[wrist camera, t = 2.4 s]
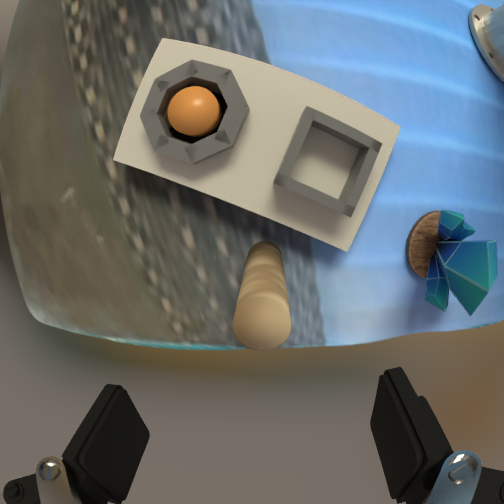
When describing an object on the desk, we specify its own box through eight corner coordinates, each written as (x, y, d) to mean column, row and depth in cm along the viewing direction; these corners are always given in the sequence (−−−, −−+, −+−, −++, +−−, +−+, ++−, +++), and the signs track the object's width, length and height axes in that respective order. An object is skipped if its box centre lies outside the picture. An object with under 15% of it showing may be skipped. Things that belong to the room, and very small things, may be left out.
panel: (389, 129, 22) (414, 123, 18) (340, 244, 26) (355, 261, 21) (171, 47, 21) (152, 27, 16) (125, 159, 25) (98, 160, 20)
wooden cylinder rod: (287, 249, 26) (300, 313, 15) (273, 278, 27) (276, 357, 16) (255, 235, 26) (244, 293, 15) (242, 266, 27) (224, 339, 16)
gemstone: (397, 283, 27) (455, 349, 15) (412, 200, 24) (492, 229, 13) (449, 285, 26) (511, 339, 15) (465, 210, 24) (543, 240, 12)
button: (229, 99, 21) (225, 94, 19) (211, 143, 22) (205, 141, 20) (186, 87, 21) (179, 81, 19) (168, 129, 22) (160, 126, 20)
